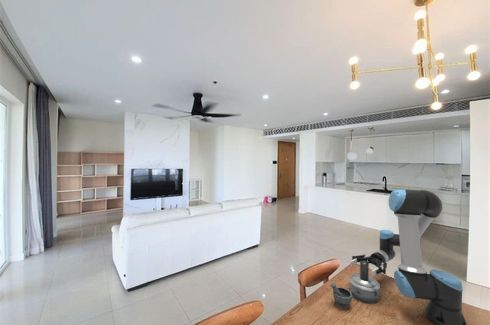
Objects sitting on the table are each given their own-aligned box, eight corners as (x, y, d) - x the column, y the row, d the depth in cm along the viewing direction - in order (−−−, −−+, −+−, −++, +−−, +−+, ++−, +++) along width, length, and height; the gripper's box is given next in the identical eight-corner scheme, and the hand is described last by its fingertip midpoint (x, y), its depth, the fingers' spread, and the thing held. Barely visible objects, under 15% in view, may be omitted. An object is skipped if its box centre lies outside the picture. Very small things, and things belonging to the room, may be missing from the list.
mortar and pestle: (347, 299, 120) (347, 278, 120) (355, 311, 111) (355, 289, 110) (327, 298, 121) (327, 278, 120) (333, 310, 111) (334, 288, 111)
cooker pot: (384, 306, 114) (384, 291, 114) (353, 301, 118) (353, 287, 118) (373, 288, 130) (374, 275, 129) (346, 284, 133) (346, 272, 133)
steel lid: (379, 289, 116) (379, 269, 116) (355, 286, 119) (356, 266, 119) (371, 277, 128) (372, 258, 128) (350, 274, 131) (350, 256, 130)
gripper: (401, 272, 123) (383, 285, 111) (359, 256, 143) (341, 265, 131) (401, 260, 123) (384, 271, 111) (360, 245, 143) (341, 254, 131)
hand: (361, 268), depth 121 cm, fingers open, 12 cm apart
